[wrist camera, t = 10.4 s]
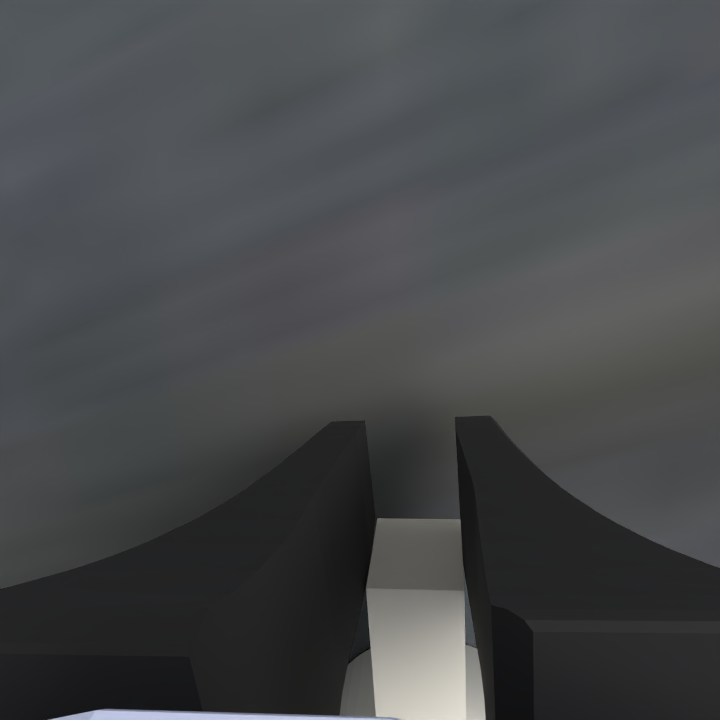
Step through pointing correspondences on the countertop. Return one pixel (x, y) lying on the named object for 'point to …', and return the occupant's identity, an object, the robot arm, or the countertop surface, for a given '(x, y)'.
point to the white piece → (416, 628)
